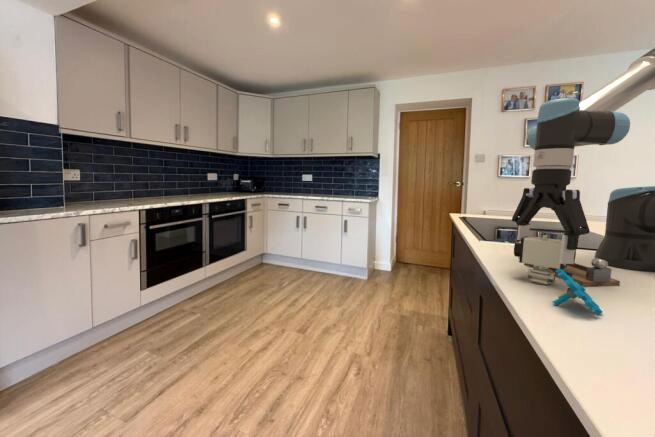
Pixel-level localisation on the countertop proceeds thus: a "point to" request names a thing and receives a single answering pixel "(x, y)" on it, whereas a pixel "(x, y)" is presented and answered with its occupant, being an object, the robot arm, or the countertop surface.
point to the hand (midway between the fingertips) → (541, 256)
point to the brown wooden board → (581, 276)
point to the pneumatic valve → (540, 257)
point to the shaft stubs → (598, 271)
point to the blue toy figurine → (575, 293)
